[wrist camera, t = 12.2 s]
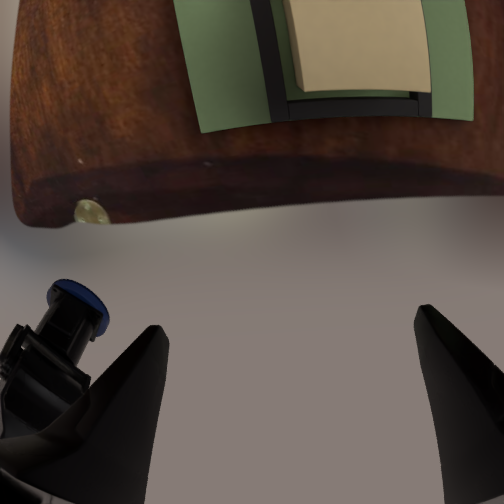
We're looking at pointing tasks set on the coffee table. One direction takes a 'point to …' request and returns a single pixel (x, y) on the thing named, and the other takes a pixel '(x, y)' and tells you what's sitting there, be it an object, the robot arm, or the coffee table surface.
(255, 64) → the pad
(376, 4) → the foam block
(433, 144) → the coffee table surface
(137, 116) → the coffee table surface
